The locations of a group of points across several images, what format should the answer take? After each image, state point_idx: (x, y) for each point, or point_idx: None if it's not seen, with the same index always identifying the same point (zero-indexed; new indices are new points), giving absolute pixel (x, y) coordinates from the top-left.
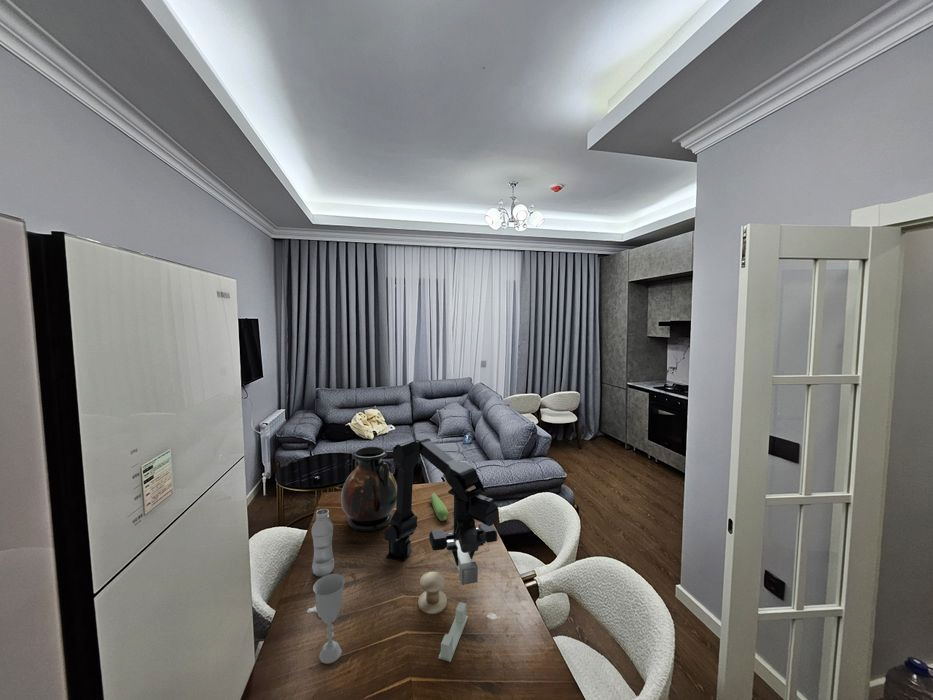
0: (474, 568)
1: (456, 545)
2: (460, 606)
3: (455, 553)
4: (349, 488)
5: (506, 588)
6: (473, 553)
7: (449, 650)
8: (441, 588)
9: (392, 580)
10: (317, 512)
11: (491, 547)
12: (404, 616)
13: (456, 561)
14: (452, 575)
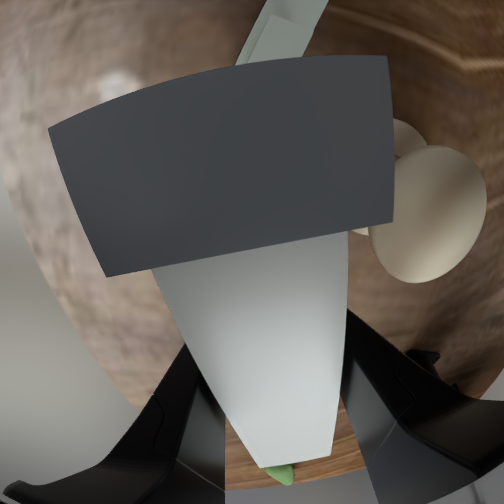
0: (112, 99)
1: (445, 495)
2: (282, 52)
3: (409, 389)
4: None
5: (65, 244)
6: (156, 400)
7: None
8: (402, 160)
9: (457, 284)
10: None
11: (142, 397)
12: (466, 130)
13: (348, 319)
14: None
